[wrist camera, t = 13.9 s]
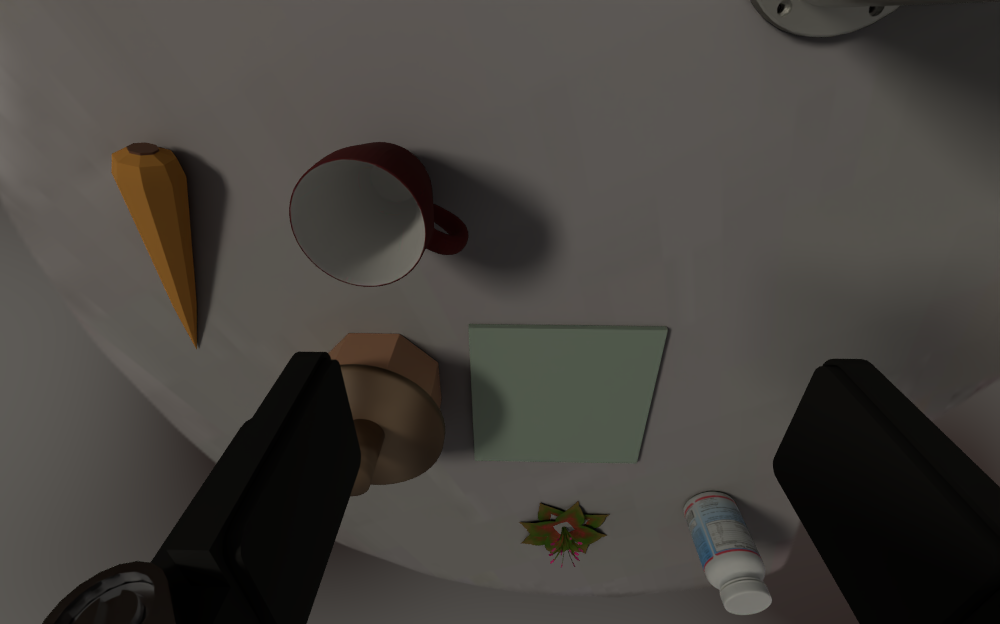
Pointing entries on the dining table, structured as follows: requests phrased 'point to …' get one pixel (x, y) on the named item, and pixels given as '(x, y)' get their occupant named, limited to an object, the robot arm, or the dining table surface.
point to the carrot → (161, 220)
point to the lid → (391, 426)
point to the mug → (370, 215)
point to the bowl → (391, 358)
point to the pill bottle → (727, 552)
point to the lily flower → (564, 530)
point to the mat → (562, 391)
